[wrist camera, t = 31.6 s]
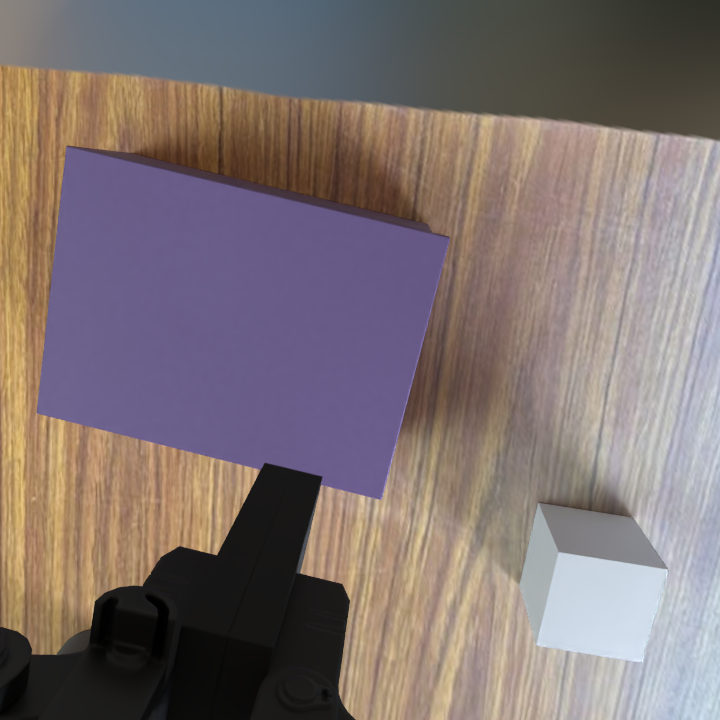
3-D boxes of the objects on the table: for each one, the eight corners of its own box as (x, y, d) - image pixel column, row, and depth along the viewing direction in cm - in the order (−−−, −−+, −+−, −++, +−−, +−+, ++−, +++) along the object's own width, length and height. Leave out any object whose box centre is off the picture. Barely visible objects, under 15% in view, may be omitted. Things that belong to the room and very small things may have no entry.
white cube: (519, 585, 44) (535, 645, 39) (537, 502, 43) (557, 551, 37) (611, 600, 44) (642, 663, 38) (633, 517, 43) (669, 569, 37)
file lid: (449, 236, 32) (450, 237, 31) (382, 493, 36) (381, 500, 35) (74, 146, 33) (65, 145, 32) (44, 409, 36) (35, 413, 35)
